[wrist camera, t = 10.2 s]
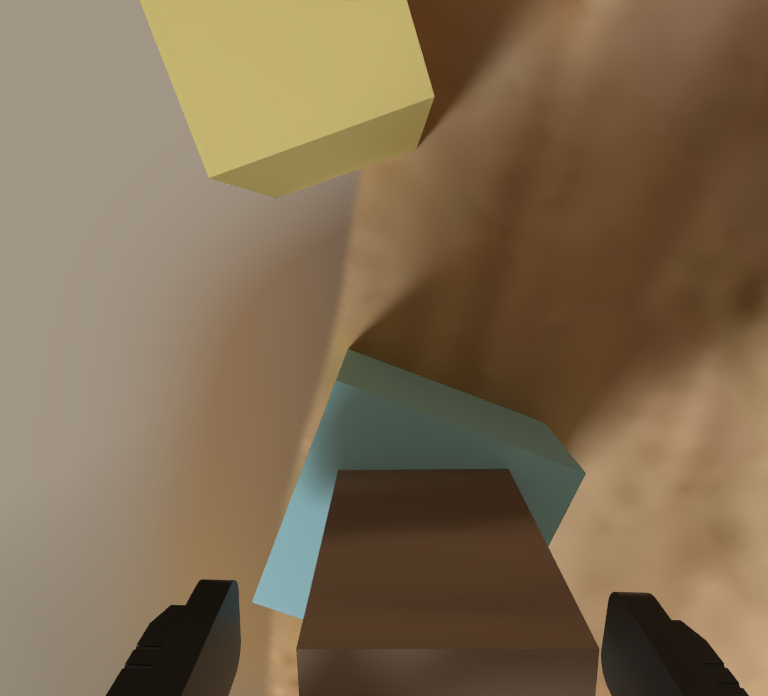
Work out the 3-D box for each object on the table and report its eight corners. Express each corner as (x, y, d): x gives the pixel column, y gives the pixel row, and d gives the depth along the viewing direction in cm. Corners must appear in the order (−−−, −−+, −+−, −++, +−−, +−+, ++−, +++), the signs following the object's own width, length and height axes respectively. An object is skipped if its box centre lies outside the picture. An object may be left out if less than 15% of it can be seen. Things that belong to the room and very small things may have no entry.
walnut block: (337, 470, 13) (296, 649, 8) (508, 468, 13) (599, 648, 8) (343, 617, 14) (310, 876, 9) (502, 616, 14) (579, 878, 8)
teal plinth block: (348, 346, 17) (336, 380, 13) (542, 419, 17) (586, 473, 13) (281, 523, 18) (252, 602, 14) (461, 586, 19) (479, 679, 15)
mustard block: (219, 43, 15) (107, -83, 9) (367, -14, 14) (354, -184, 8) (276, 198, 16) (209, 177, 10) (416, 148, 15) (434, 96, 9)
